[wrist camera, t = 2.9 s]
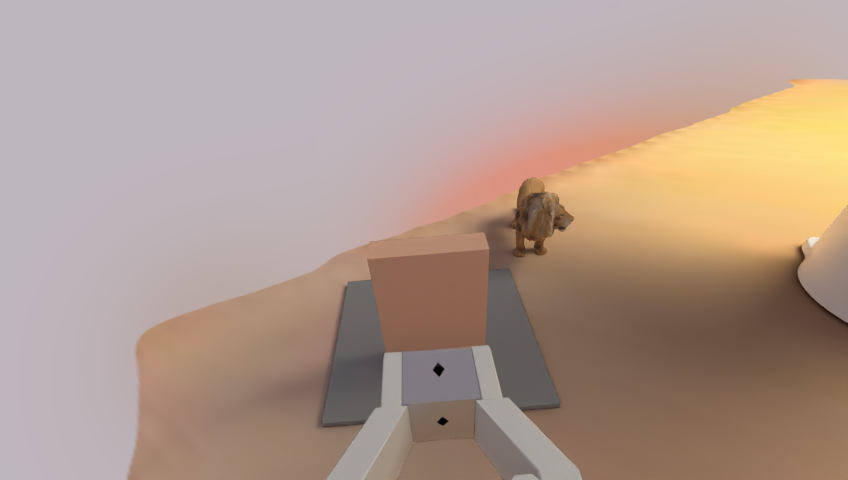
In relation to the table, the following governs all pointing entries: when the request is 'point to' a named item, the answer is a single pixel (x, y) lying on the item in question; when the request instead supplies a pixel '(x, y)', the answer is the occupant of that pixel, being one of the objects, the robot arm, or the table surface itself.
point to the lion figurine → (537, 216)
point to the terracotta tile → (431, 291)
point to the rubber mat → (364, 352)
